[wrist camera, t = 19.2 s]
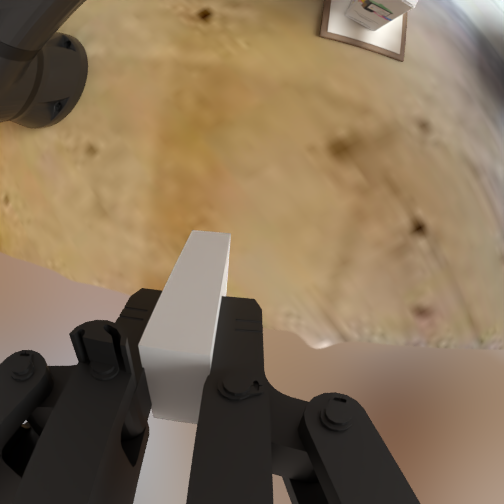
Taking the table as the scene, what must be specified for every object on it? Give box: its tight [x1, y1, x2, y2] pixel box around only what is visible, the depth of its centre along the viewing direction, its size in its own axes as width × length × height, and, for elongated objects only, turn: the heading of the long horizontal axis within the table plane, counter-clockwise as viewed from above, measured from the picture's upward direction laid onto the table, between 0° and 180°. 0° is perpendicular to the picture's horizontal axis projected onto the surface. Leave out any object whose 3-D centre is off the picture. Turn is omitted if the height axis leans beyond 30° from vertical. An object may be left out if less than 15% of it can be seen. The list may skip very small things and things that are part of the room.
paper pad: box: [320, 0, 407, 62], centre depth 28 cm, size 12×15×1 cm
